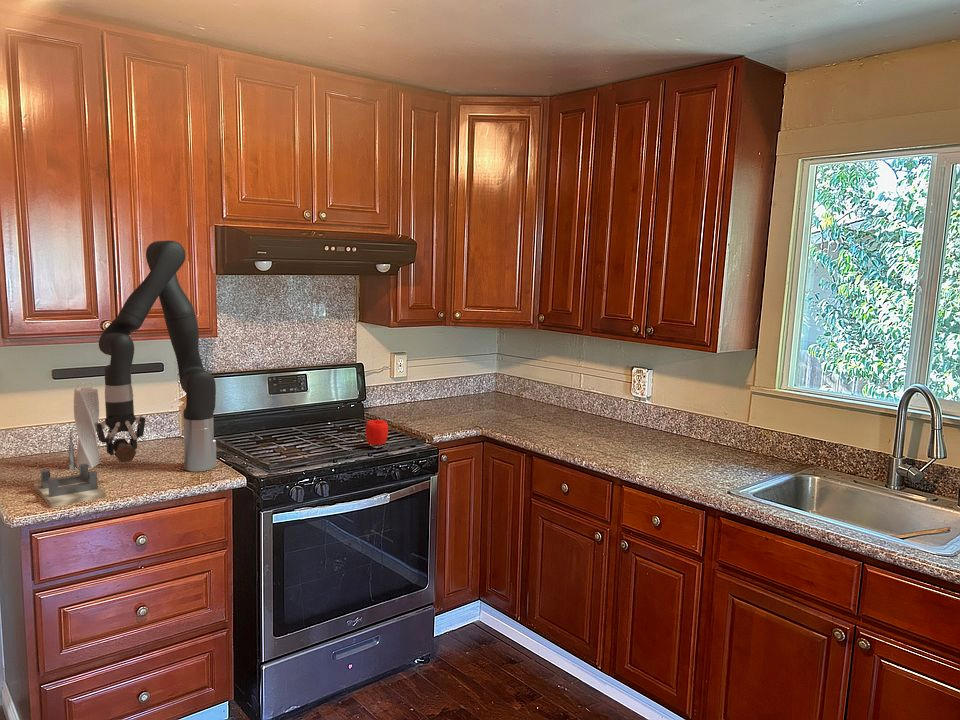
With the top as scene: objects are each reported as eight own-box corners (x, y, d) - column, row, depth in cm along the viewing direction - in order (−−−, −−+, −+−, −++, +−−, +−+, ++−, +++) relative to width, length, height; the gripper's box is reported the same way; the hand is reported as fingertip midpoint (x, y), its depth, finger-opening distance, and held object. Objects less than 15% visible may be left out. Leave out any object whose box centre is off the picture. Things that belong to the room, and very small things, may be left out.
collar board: (86, 479, 217) (86, 475, 217) (106, 497, 203) (106, 492, 203) (34, 488, 208) (33, 483, 207) (50, 507, 193) (50, 502, 193)
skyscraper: (81, 463, 235) (78, 380, 231) (106, 463, 235) (103, 381, 231) (67, 470, 226) (64, 385, 222) (93, 471, 227) (90, 386, 223)
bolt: (122, 454, 220) (129, 465, 208) (106, 448, 217) (112, 459, 205) (131, 437, 221) (139, 447, 209) (115, 431, 218) (122, 441, 206)
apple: (369, 443, 273) (370, 416, 272) (391, 446, 272) (391, 418, 270) (361, 449, 265) (362, 421, 263) (383, 451, 263) (384, 423, 262)
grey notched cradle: (87, 479, 213) (86, 463, 212) (97, 489, 205) (97, 472, 204) (41, 486, 205) (40, 470, 204) (50, 497, 197) (49, 480, 196)
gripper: (140, 393, 218) (142, 446, 221) (89, 399, 208) (92, 454, 211) (148, 397, 213) (151, 451, 216) (96, 403, 203) (100, 460, 206)
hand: (122, 452), depth 213 cm, fingers closed on bolt, 5 cm apart
